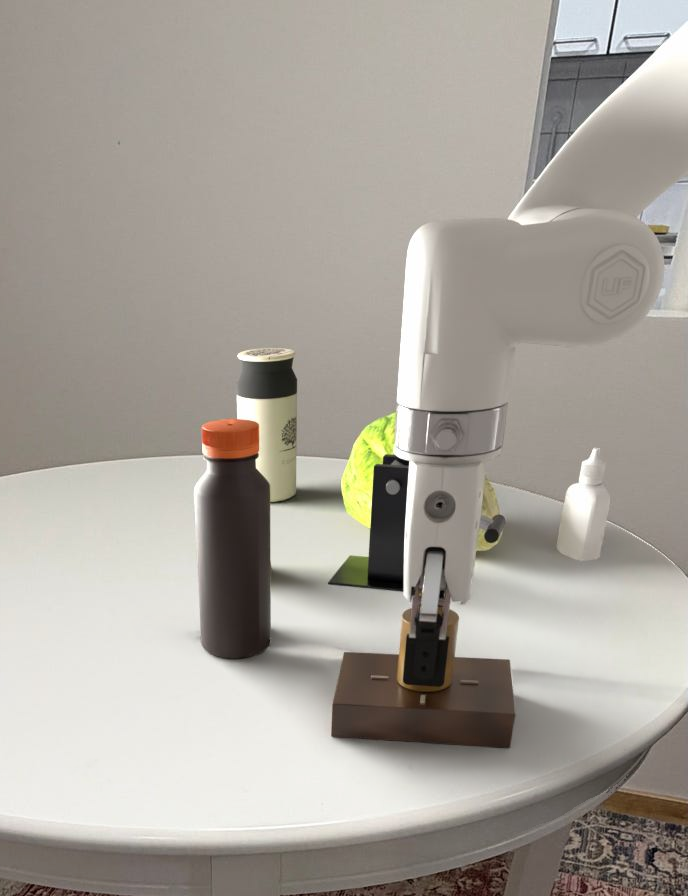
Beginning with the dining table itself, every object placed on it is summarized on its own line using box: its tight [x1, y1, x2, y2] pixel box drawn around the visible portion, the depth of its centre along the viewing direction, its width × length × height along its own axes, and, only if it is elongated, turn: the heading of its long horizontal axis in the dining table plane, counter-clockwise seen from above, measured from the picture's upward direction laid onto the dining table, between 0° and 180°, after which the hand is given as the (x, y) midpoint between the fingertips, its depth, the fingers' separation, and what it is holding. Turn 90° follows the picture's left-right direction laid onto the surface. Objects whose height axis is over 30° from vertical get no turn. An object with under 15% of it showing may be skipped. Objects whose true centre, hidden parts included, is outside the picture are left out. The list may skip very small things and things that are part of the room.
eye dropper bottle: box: [556, 447, 611, 562], centre depth 104 cm, size 4×6×12 cm
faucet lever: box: [391, 460, 507, 543], centre depth 97 cm, size 13×5×2 cm, turn 68°
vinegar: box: [193, 418, 272, 659], centre depth 87 cm, size 7×7×20 cm
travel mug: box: [236, 347, 298, 503], centre depth 128 cm, size 8×8×18 cm
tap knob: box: [397, 606, 460, 692], centre depth 76 cm, size 4×4×6 cm
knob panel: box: [330, 651, 516, 749], centre depth 79 cm, size 14×10×3 cm
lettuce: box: [340, 411, 504, 552], centre depth 111 cm, size 15×24×14 cm, turn 22°
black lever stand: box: [327, 454, 410, 593], centre depth 100 cm, size 12×9×13 cm
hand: (425, 667), depth 77 cm, fingers closed on tap knob, 4 cm apart
